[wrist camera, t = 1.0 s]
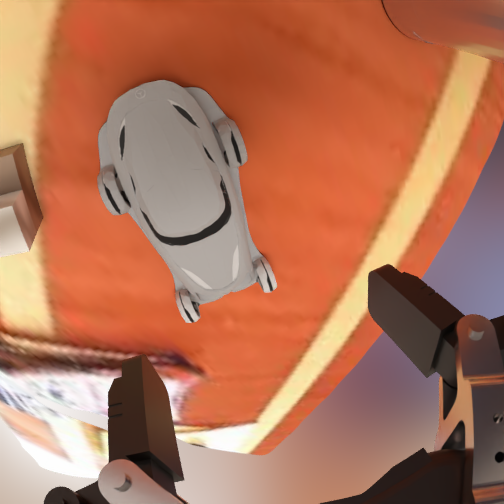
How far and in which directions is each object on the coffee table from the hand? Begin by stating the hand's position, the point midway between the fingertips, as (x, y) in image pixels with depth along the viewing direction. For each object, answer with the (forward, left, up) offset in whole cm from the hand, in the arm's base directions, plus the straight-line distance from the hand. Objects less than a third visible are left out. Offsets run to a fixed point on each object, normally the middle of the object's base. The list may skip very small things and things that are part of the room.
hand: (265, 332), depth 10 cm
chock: (+1, -16, -19) cm, 25 cm away
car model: (+6, 0, -19) cm, 20 cm away
